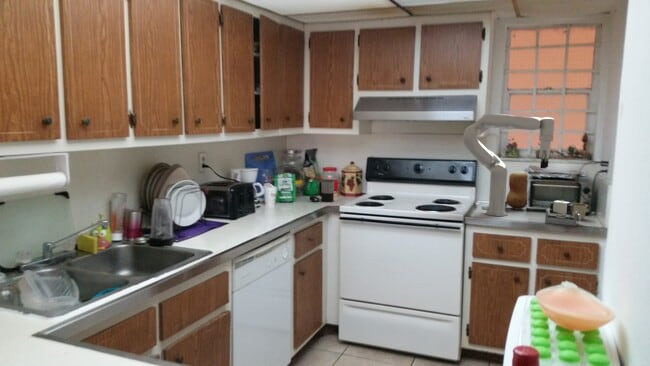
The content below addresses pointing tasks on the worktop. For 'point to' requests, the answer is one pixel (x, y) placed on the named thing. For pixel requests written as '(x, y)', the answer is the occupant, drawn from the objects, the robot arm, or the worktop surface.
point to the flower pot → (579, 209)
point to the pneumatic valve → (561, 208)
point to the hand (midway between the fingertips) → (544, 167)
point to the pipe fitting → (566, 221)
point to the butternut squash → (517, 190)
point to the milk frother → (325, 191)
